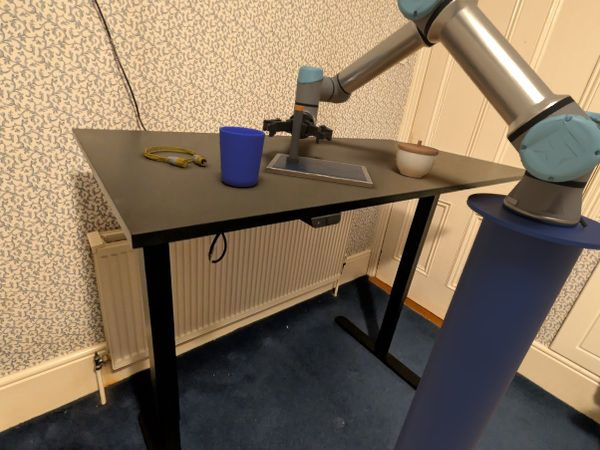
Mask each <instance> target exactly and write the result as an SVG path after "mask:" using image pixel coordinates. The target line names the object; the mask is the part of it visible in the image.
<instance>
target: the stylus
mask: <svg viewBox="0 0 600 450" xmlns="http://www.w3.org/2000/svg"><path fill="white" fill-rule="evenodd" d="M294 110H295V111H294ZM303 110H304V106H299V105H295V109H294V108H293V112H294V119H293V128H292V135H291V138H290V146H289V147H290V148H289V154H288V155H289V156H287V158H286V162H288V163H292V164H298V163H299V159H300V158H299V157H300V156H299V148H300V140H301V139H300V132H301V124H302V116H303ZM297 156H299V157H297Z"/></svg>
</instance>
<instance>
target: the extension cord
mask: <svg viewBox="0 0 600 450" xmlns="http://www.w3.org/2000/svg"><path fill="white" fill-rule="evenodd" d="M162 152H172V153H182V154H189V155H192V156H191V157H189V158H184V157H179V156H170V155H169V156H167V157H166V156H161V155H157V154H155V153H162ZM144 156H145V157H146V158H148V159H149V160H153V161H156V162H162V163H170V164H172V165H174V167H175V166H177V167H181V168H187V167H189V163H191V162H195V164H197V165H199V166H200V165H201V166H203V167H204V166H207V163H208V160H207V159H206V158H205V157H204V156H202V155H199V154H198V153H197V152H196V151H194V150H191V149H187V148H184V147H179V146H174V145H173V146H172V145H154V146H150V147H147V148H145V150H144Z"/></svg>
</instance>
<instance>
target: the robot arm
mask: <svg viewBox="0 0 600 450" xmlns="http://www.w3.org/2000/svg"><path fill="white" fill-rule="evenodd" d="M396 1H397V2H396V3H397V8H398V10H399V12H400V13H401V15H402V16H403V17H404V18H405V19H406V20H408V21H407V22H405V24H404V25H402V26H401V27H399V28H398V29H396V31H394V32H393V33H391V34H389V36H387V37H386V38H384V39H383V40H381V41H380V42H379V43H377V44H376V45H375V46H373V47H372V48H370V49H369V50H368V51H367V52H365V53H364V54H362V55H361V56H359V58H357V59H356V60H354V61H353V62H351V63H350V64H349V65H348V66H346V67H344V68H343V69H342V70H341V71H339V72H338V73H336V74H335V75H334V76H331V77H330V76H326V75H324V68H321V67H316V66H312V65H311V66H310V65H301V66H300V67H299V69H298V73H297V79H296V88H295V95H294V96H295V99H294V106H293V112H292V113H293V114H291V115H290V117H289V118H286V119H285V120H283V119H281V118H279V117H276V118H269V119H263V121H262V131H263V132H268V137H269V138H273V137H274V136H275V135H276V134H277V133H286V134H290V135H291V136H292V128H293V119H294V111H295V110H294V109H295V105H299V106H304V110H303V116H302V124H301V132H300V140H305V139H307V138H309V137H314V138H315V145H316V144H317V145H320V140H321V141H324V140H327V141H329V142H331V141H332V139H333V134H334V133H333V132H334V130H333V129H331V128H329V127H327V125H325V124H320V125H318V126H317V122H318V112H319V105H320V102H321V103H330V104H335V105H337V104H344V103H346V102H348V101H349V99H350V98H351V97H352V94H353V93H355V91H357V90H360V88H362V87H364V86H365V85H367V84H369V83H370V82H372V81H373V80H375V79H376V78H378V77H379V76H381V75H383V74H384V73H385V72H387V71H388V70H390V69H392V68H393V67H395V66H397V65H398V64H400V63H401V62H403V61H404V60H406V59H407V58H409V57H410V56H412V55H413V54H415V53H416V52H418V51H420V50H421V49H423V48H428V49H429V48H431V47H433V46H435V45H437V44H438V43H440V44H441V45H442V46H443V47H444V48H445V50H446V51H447V52H448V54H449V55H450V56H451V57H452V58H453V60H454V61H455V62H456V64H457V65H458V66H459V67H460V68H461V70H463V72H464V73H465V74H466V76H467V77H468V78H469V79H470V80H471V82H472V83H473V85H474V86H475V87H476V88H477V89H478V91H479V92H480V94H482V96H483V97H484V98H485V99H486V100H487V102H488V103H489V104H490V105H491V106H492V108H493V109H494V110H495V111H496V113H497V114H498V115H499V116H500V118H501V119H502V120H503V121H504V123H505V124H506V125H507V126H508V127H507V133H506V137H505V138H506V140H507V141H508V142H509V143H510V144H511V146H512V147H513V148H514V150H515V151H516V152H517V154H518V155H519V158H520V162H521V165H522V167H523V168H524V169H525V171H524V173H523V176H522V178H521V179H520V180H519V181H518V182H517V184H516V185H514V187H513V188H512V189H511V190H510V192H509V193H508V194H506V195H507V196H506V198H505V199H504V202H503V204H502V207H503V208H504V209H506V210H507V211H509V212H511V213H513V214H515V215H517V216H520V217H522V218H525V219H528V220H531V221H534V222H538V223H542V224H546V225H550V226H556V227H562V228H574V227H577V225H578V223H579V222H580V223H581V225H582V226H583V227H587V226H588V225H587V224H586V223H585V221H584V220H583V218H582V217H581V215H582V207H583V196H584V195H583V193H584V190H585V188H586V186H587V184H588V182H589V181H590V178H591V177H592V175H593V173H594V171H595V168H596V167H597V166H598V165H599V164H600V113H599V112H596V111H595V112H593V111H587V110H584V109H583V108H582V107H581V106H580V105H579V103H578V102H576V100H575V99H574V98H573V97H572V96H571V95H570V94H557V93H554V92H553V91H552V90H551V88H550V87H549V86H548V85H547V84H546V82H545V81H544V80H543V79H542V78H541V77H540V76H539V74H537V73H536V71H535V70H534V69H533V67H532V66H531V65H530V64H529V63H528V62H527V61H526V60H525V59H524V57H522V55H521V54H520V53H519V52H518V50H516V48H515V47H514V46H513V45H512V44H511V43H510V41H508V39H507V38H506V37H505V36H504V35H503V33H502V32H501V31H500V30H499V29H498V28H497V26H495V25H494V23H493V22H492V21H491V20H490V19H489V17H488V16H487V15H486V14H485V13H484V12H483V11H482V9H480V7H479V6H478V5H479V2H480V0H396Z"/></svg>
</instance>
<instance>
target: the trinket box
mask: <svg viewBox="0 0 600 450" xmlns="http://www.w3.org/2000/svg"><path fill="white" fill-rule="evenodd" d="M422 143H423V140H420V139H419V140H417V143H413V142H411V143H410V142H409V143H408V142H399V143H398V144H397V150H396V153H395V164H396V167H397V169H398V170H399V173H400V174H401V175H403V176H406V177H410V178H414V179H415V178H417V179H421V178H423V177H424V176H426V175H427V174H428V173H430V172H431V171H432V169H433V168H434V166H435V163H436V161H437V158H438V155H439V153H440V150H439V149H437V148H435V147H431V146H428V145H424V144H422Z"/></svg>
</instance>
